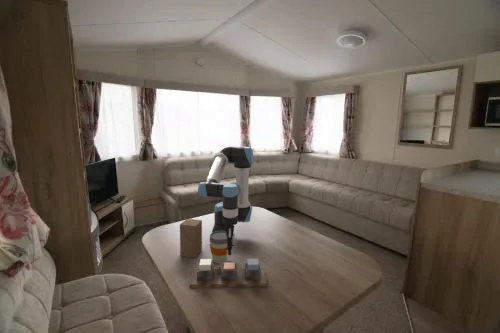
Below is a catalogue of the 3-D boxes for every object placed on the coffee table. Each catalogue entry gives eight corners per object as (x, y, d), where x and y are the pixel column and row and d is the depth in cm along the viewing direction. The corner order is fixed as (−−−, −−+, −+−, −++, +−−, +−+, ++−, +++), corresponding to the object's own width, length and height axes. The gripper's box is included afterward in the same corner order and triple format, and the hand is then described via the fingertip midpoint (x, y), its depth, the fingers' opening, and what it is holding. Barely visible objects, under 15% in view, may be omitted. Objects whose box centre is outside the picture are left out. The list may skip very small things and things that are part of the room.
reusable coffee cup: (205, 261, 144) (205, 237, 141) (215, 251, 155) (215, 229, 153) (225, 266, 140) (225, 241, 137) (234, 256, 151) (234, 232, 149)
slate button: (247, 273, 126) (247, 264, 125) (246, 267, 131) (247, 258, 131) (258, 273, 126) (258, 264, 125) (257, 267, 132) (257, 258, 131)
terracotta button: (223, 277, 125) (223, 268, 125) (223, 271, 131) (224, 262, 130) (234, 277, 126) (234, 268, 125) (234, 271, 131) (234, 262, 131)
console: (189, 287, 121) (189, 275, 120) (193, 271, 134) (193, 260, 133) (267, 286, 124) (267, 274, 123) (264, 271, 136) (264, 260, 135)
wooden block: (195, 258, 147) (195, 226, 144) (180, 256, 149) (179, 224, 146) (202, 250, 157) (202, 219, 154) (187, 248, 159) (187, 218, 156)
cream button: (199, 274, 124) (199, 264, 124) (200, 267, 130) (200, 258, 129) (210, 274, 125) (210, 264, 124) (211, 267, 130) (211, 258, 129)
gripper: (223, 210, 129) (222, 252, 134) (221, 220, 117) (221, 266, 121) (237, 210, 130) (236, 252, 134) (238, 220, 117) (237, 266, 121)
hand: (229, 259), depth 127 cm, fingers closed
